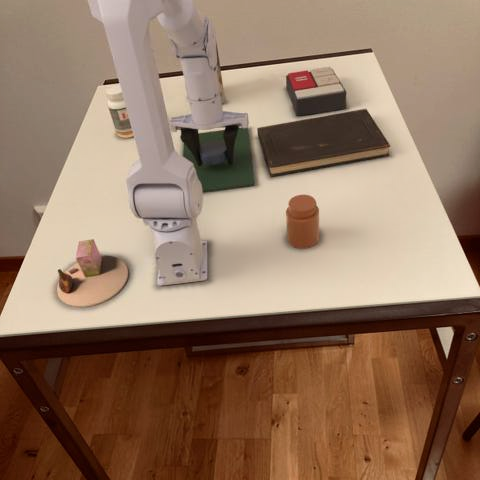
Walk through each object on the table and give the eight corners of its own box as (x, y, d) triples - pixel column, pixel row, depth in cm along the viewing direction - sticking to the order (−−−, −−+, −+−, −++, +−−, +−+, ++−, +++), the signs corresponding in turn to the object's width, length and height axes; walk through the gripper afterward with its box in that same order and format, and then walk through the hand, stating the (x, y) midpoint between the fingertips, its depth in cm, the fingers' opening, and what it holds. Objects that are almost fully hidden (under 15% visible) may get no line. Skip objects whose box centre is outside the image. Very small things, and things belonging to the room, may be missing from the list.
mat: (254, 185, 96) (254, 183, 95) (181, 195, 97) (180, 192, 96) (248, 129, 110) (247, 126, 110) (184, 137, 111) (184, 135, 111)
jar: (321, 246, 82) (321, 209, 77) (289, 250, 82) (287, 214, 77) (316, 226, 85) (315, 190, 80) (285, 230, 86) (283, 195, 80)
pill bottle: (144, 134, 115) (132, 90, 107) (120, 141, 114) (106, 97, 106) (138, 123, 118) (126, 80, 111) (114, 130, 117) (101, 88, 110)
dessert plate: (62, 261, 87) (52, 241, 84) (131, 251, 87) (123, 230, 84) (51, 312, 79) (39, 291, 76) (127, 300, 79) (118, 279, 76)
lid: (206, 148, 101) (205, 139, 100) (233, 150, 99) (232, 141, 98) (196, 163, 98) (194, 154, 96) (223, 166, 96) (221, 157, 95)
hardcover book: (389, 156, 97) (390, 145, 95) (270, 177, 97) (269, 166, 95) (364, 117, 107) (365, 107, 106) (257, 136, 108) (256, 126, 106)
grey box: (332, 64, 118) (346, 88, 108) (331, 83, 121) (346, 108, 111) (285, 71, 119) (295, 96, 108) (286, 90, 122) (296, 116, 111)
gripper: (247, 80, 91) (254, 150, 101) (169, 86, 93) (184, 153, 103) (242, 99, 86) (250, 169, 96) (160, 104, 89) (176, 172, 99)
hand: (215, 162), depth 99 cm, fingers closed on lid, 5 cm apart
